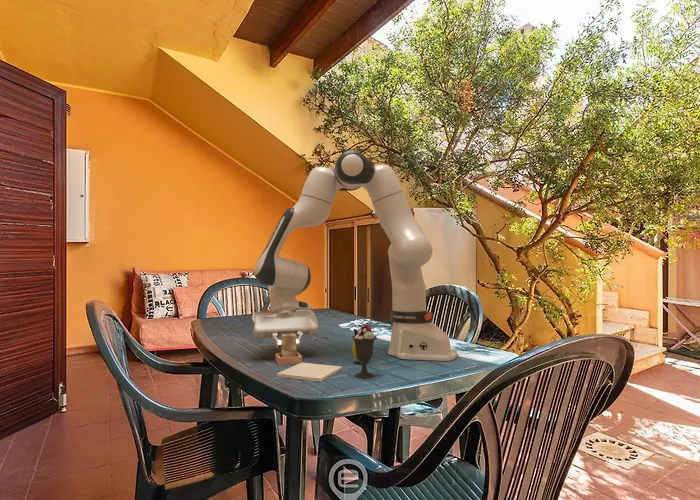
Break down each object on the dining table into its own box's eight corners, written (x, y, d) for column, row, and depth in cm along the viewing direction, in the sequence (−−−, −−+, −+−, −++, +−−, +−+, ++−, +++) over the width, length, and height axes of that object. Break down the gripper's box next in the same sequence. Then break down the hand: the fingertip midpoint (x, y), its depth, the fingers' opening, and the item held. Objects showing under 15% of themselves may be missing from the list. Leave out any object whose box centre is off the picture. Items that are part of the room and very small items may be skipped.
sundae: (380, 377, 107) (380, 319, 108) (356, 380, 105) (355, 320, 106) (372, 371, 113) (372, 316, 114) (348, 373, 111) (348, 317, 112)
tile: (342, 369, 116) (342, 366, 116) (321, 381, 104) (321, 378, 104) (301, 365, 121) (301, 362, 121) (277, 376, 109) (277, 373, 109)
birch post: (294, 359, 128) (294, 333, 128) (296, 362, 124) (296, 335, 124) (281, 360, 127) (281, 333, 127) (282, 363, 123) (282, 336, 123)
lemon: (369, 365, 120) (368, 337, 121) (350, 364, 121) (350, 337, 122) (371, 361, 126) (371, 334, 126) (354, 360, 127) (353, 334, 127)
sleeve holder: (298, 358, 130) (298, 351, 130) (302, 363, 123) (302, 356, 123) (275, 359, 128) (275, 353, 128) (278, 365, 121) (278, 358, 121)
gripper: (252, 305, 130) (254, 342, 121) (315, 303, 136) (322, 338, 126) (251, 318, 134) (253, 354, 125) (312, 315, 140) (319, 350, 131)
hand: (288, 346), depth 126 cm, fingers closed on birch post, 4 cm apart
